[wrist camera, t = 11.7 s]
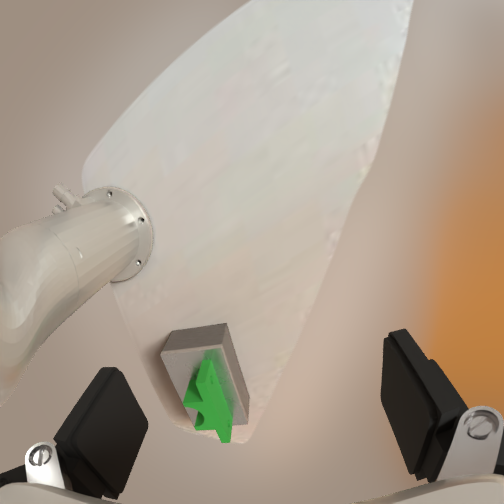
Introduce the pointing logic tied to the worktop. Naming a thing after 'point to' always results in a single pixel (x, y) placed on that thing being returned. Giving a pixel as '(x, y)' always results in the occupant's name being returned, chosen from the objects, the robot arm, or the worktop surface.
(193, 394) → the pipe clamp
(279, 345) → the worktop surface
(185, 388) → the gray rectangular block
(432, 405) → the robot arm
